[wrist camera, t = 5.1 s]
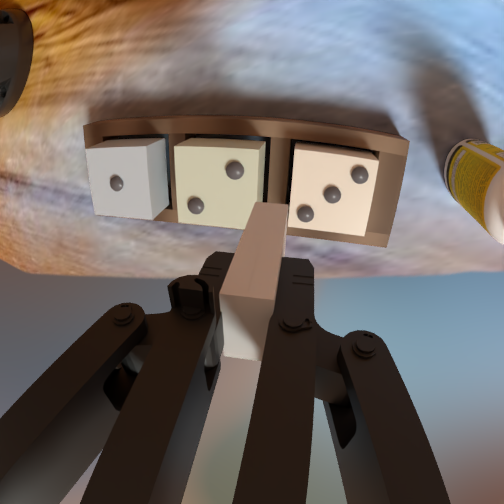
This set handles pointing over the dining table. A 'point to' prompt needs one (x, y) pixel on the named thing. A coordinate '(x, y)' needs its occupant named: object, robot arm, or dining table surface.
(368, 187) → the tile three
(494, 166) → the pill bottle
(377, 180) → the tile tray
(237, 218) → the tile two
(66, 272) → the dining table surface
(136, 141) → the tile one
